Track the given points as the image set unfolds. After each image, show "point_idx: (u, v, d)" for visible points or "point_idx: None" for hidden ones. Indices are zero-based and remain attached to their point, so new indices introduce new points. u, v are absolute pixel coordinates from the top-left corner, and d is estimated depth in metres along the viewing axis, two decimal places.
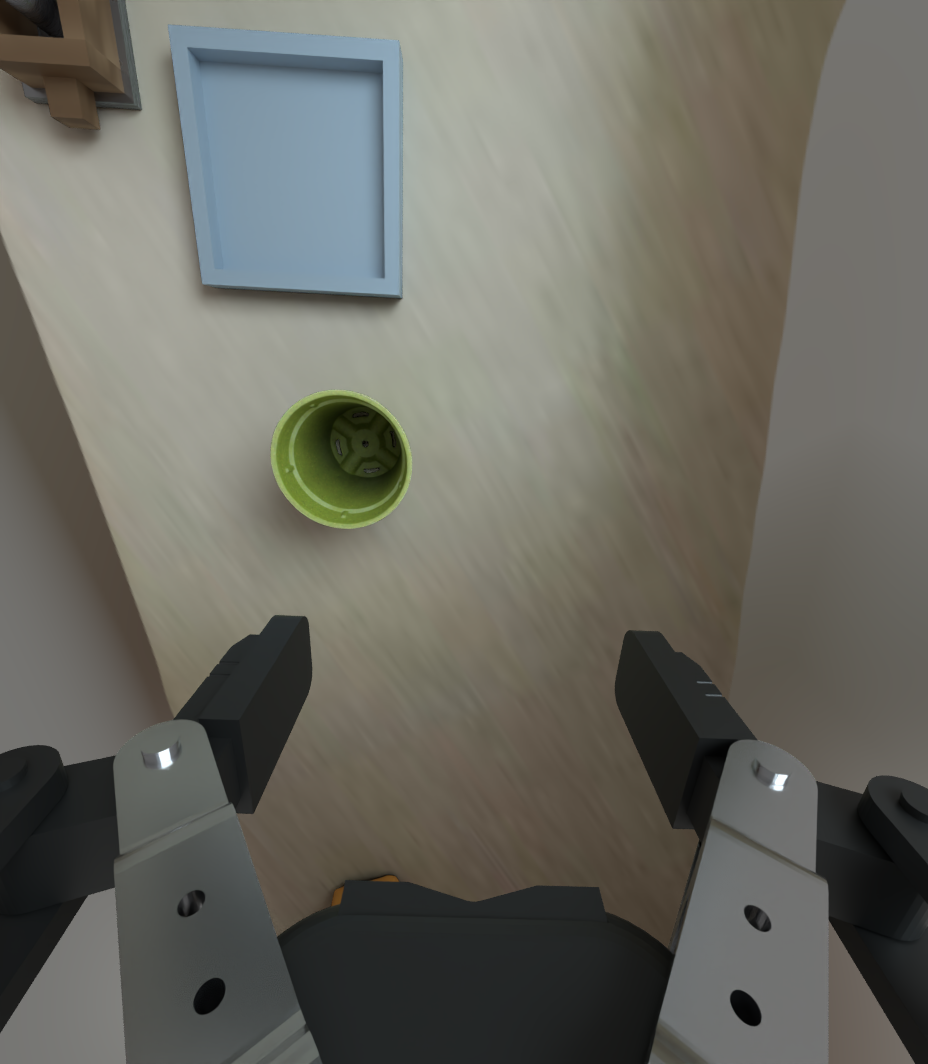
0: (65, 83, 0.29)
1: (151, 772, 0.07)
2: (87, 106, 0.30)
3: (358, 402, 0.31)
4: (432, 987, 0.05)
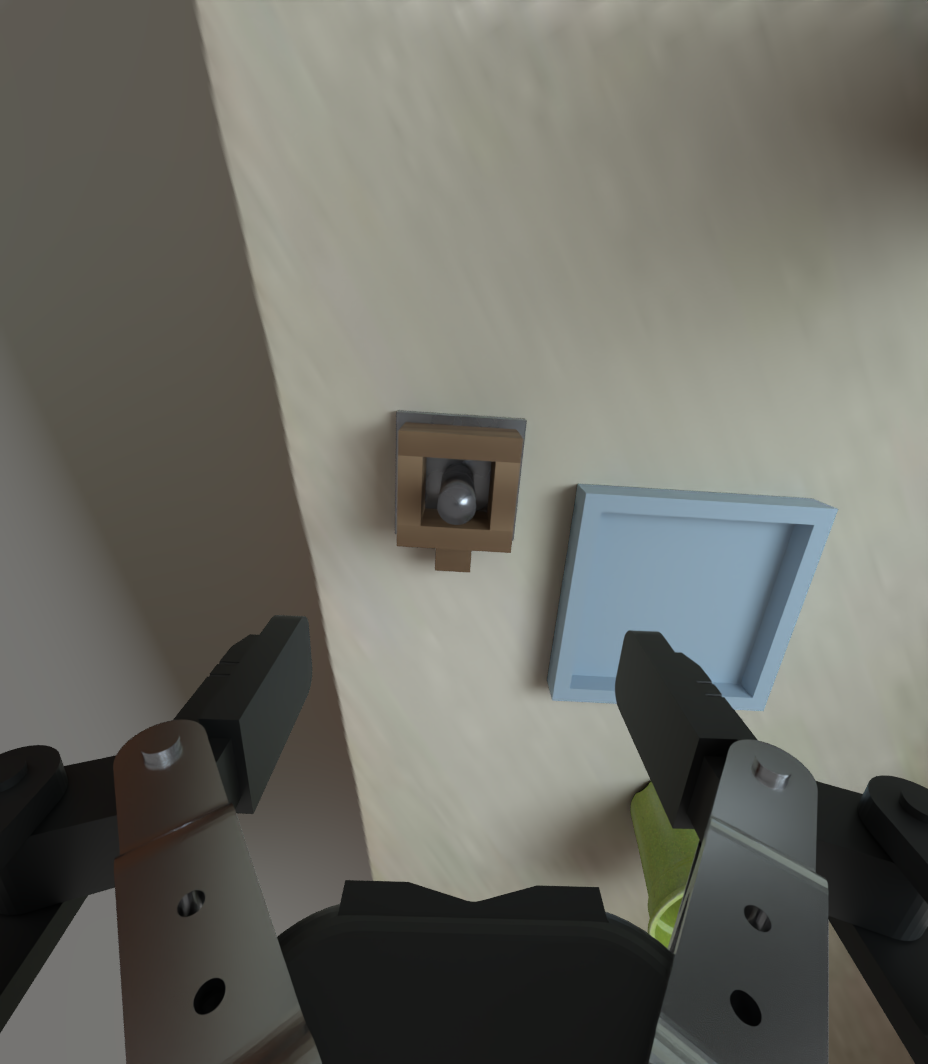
0: None
1: (151, 772, 0.07)
2: None
3: None
4: (432, 987, 0.05)
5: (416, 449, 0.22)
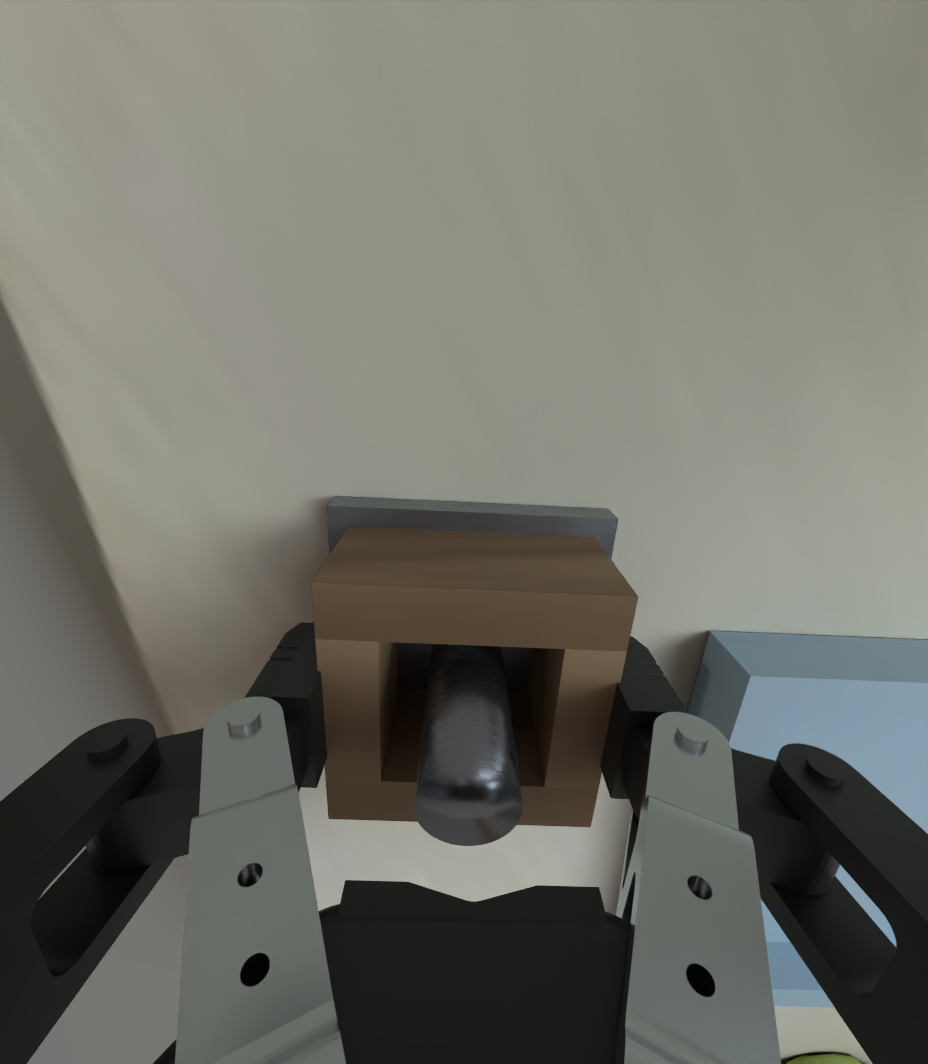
0: None
1: (240, 742, 0.07)
2: None
3: None
4: (432, 987, 0.05)
5: (361, 625, 0.09)
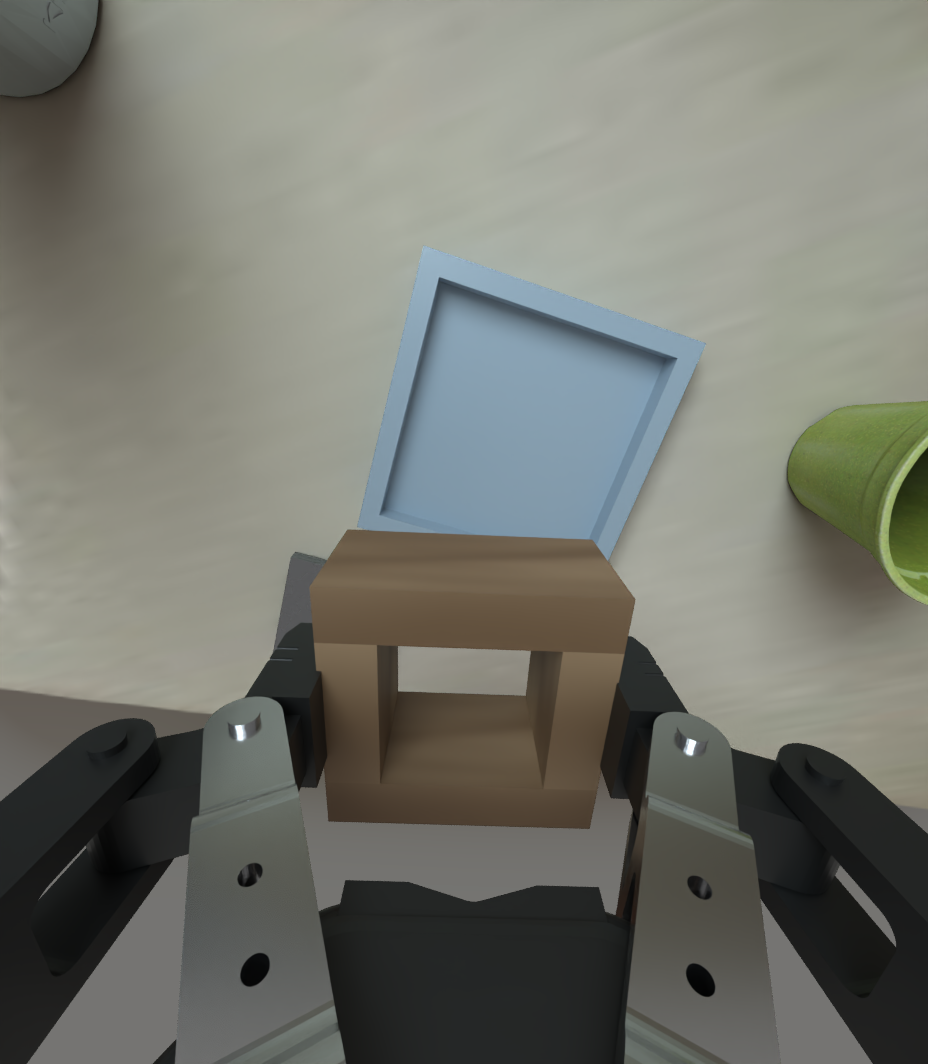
0: None
1: (240, 742, 0.07)
2: None
3: None
4: (432, 987, 0.05)
5: (359, 629, 0.09)
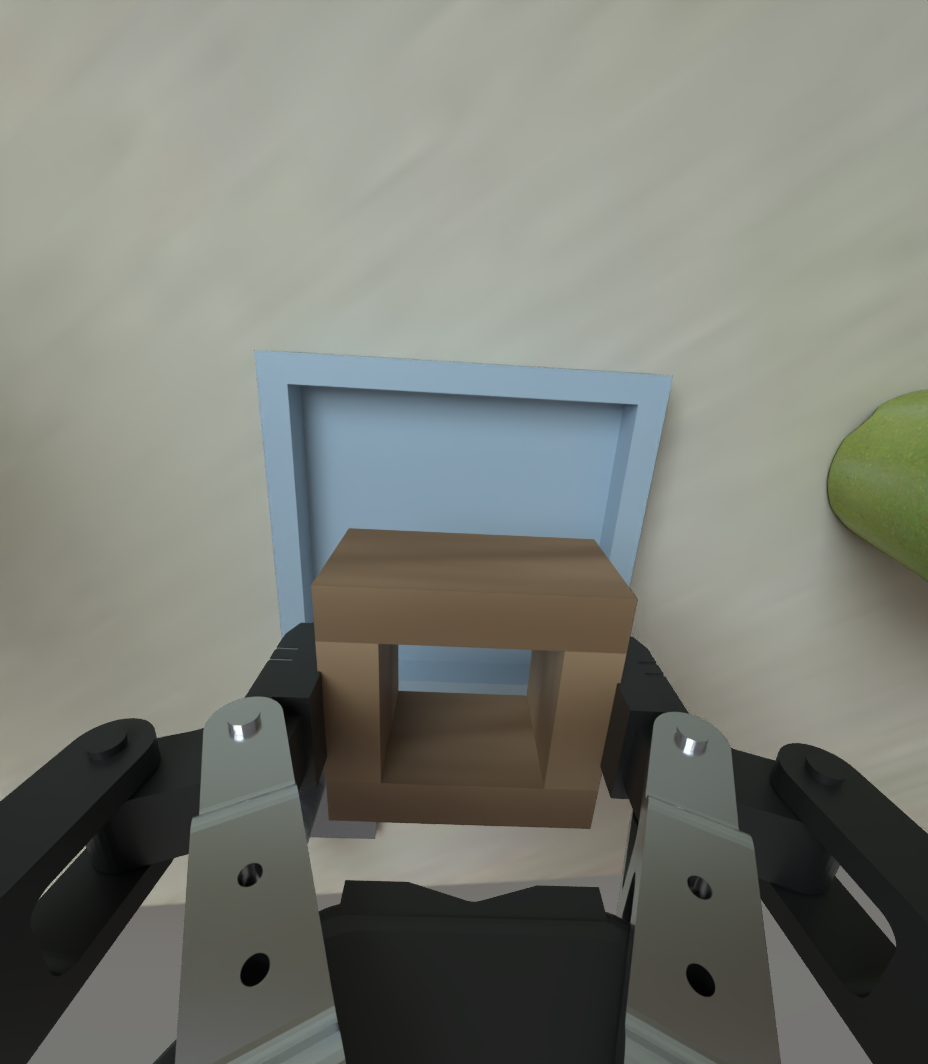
0: None
1: (240, 742, 0.07)
2: None
3: None
4: (432, 987, 0.05)
5: (361, 628, 0.09)
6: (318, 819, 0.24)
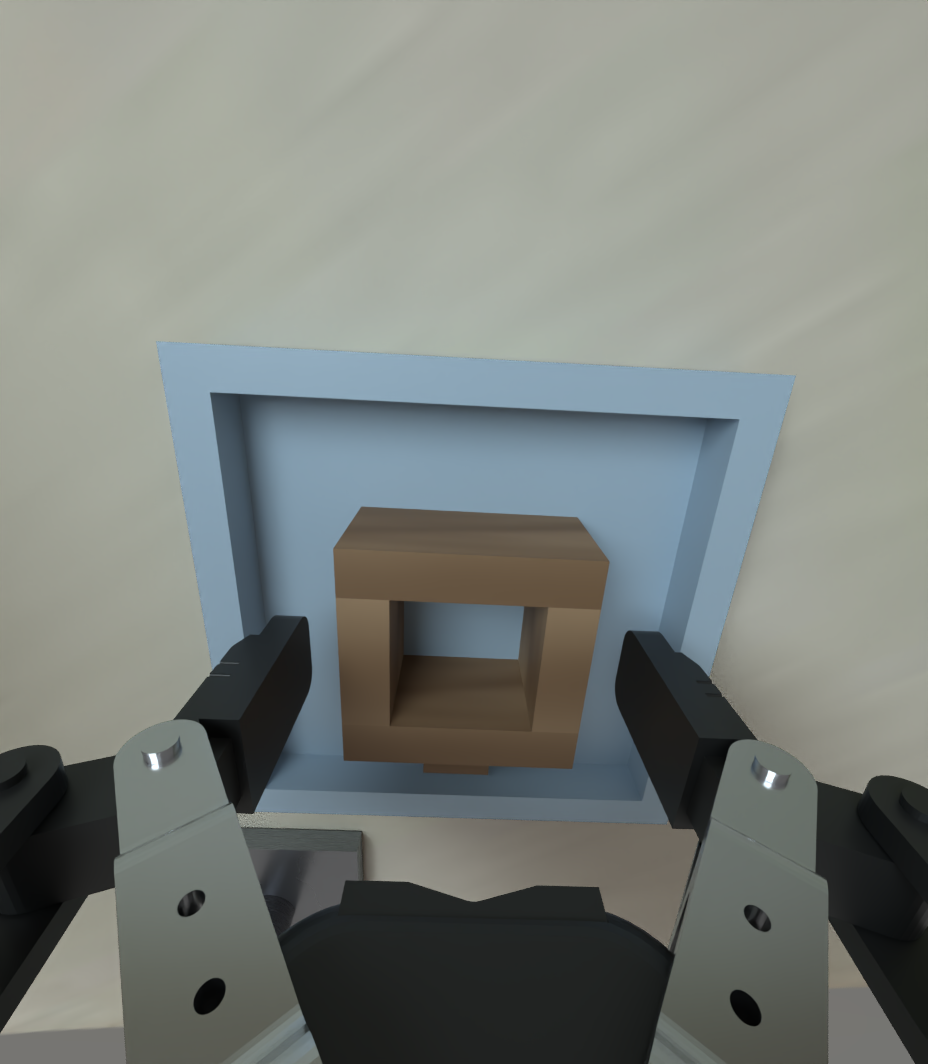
0: None
1: (151, 772, 0.07)
2: None
3: None
4: (432, 987, 0.05)
5: (375, 586, 0.10)
6: None
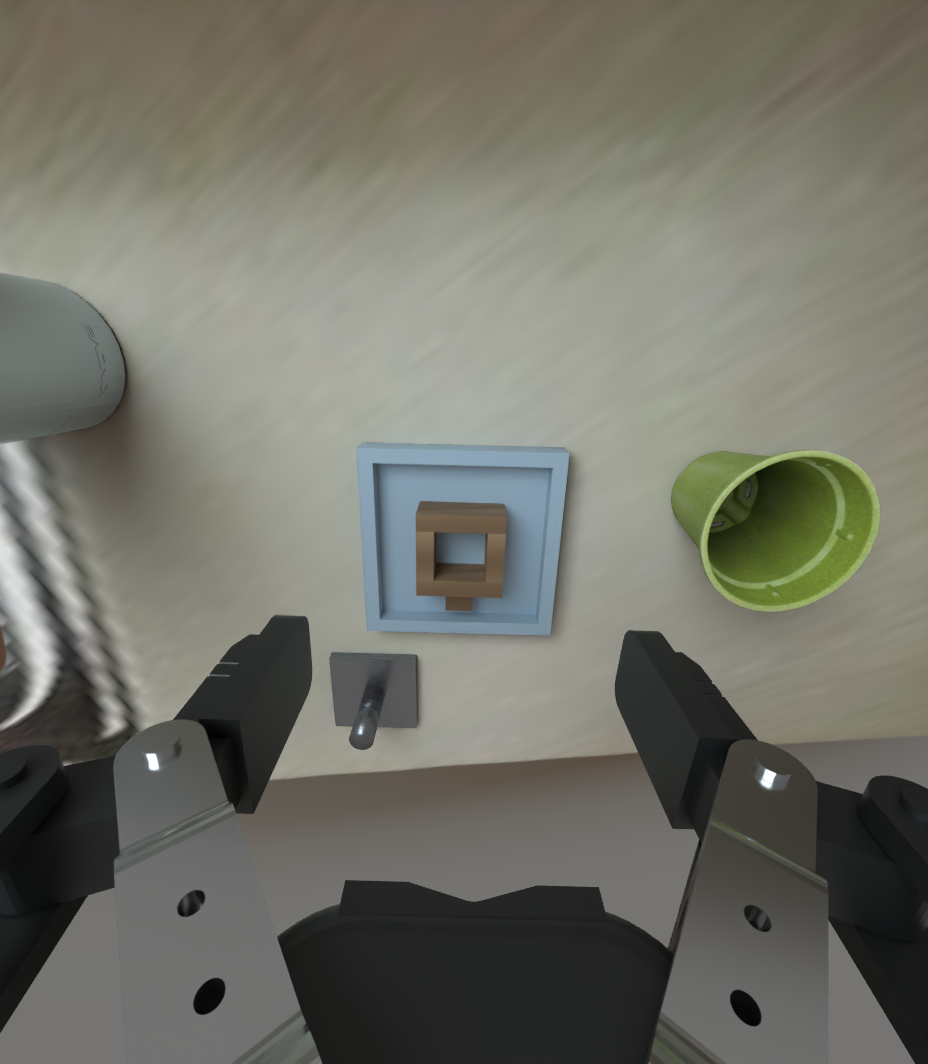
0: None
1: (151, 772, 0.07)
2: None
3: None
4: (432, 987, 0.05)
5: (429, 527, 0.31)
6: (381, 714, 0.40)
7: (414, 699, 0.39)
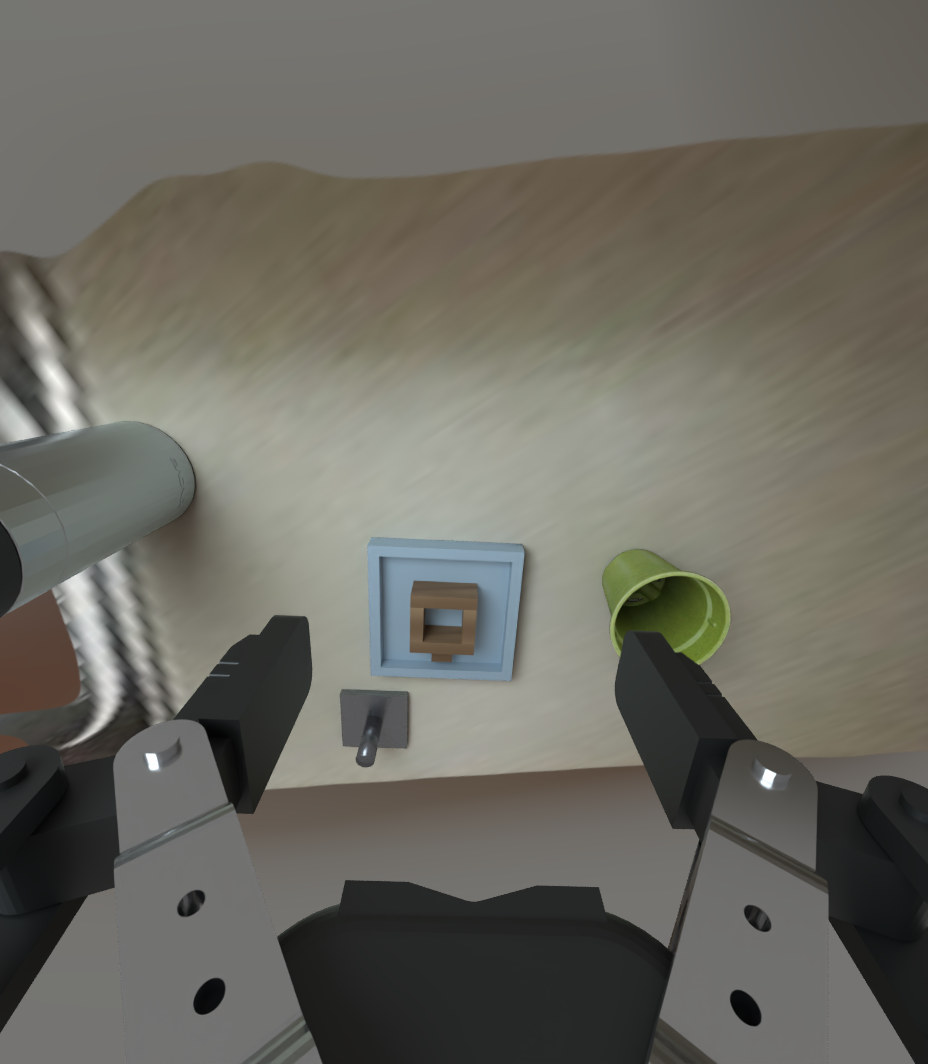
0: None
1: (151, 772, 0.07)
2: None
3: (616, 602, 0.38)
4: (432, 987, 0.05)
5: (420, 604, 0.41)
6: (379, 737, 0.50)
7: (405, 726, 0.50)
